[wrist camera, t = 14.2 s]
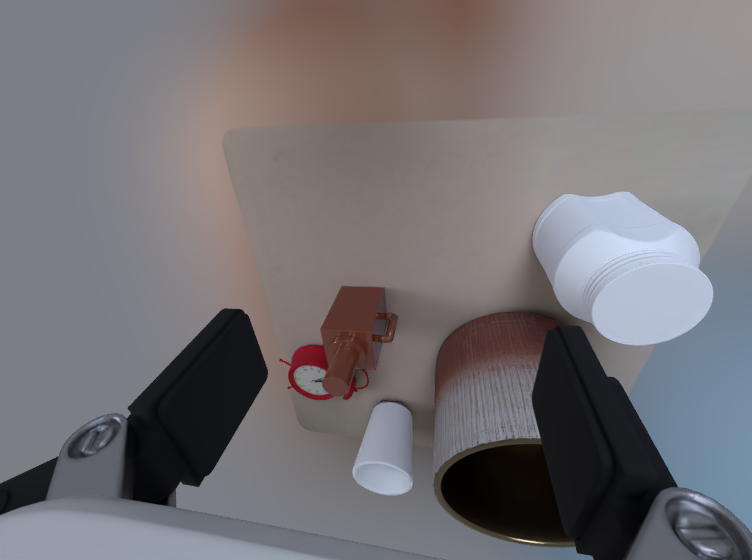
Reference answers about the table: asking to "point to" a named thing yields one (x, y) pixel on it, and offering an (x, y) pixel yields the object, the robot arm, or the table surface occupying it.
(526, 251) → the table surface
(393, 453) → the cup
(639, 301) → the jar
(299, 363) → the alarm clock
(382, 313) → the brown handled box
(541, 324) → the planter
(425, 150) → the table surface
